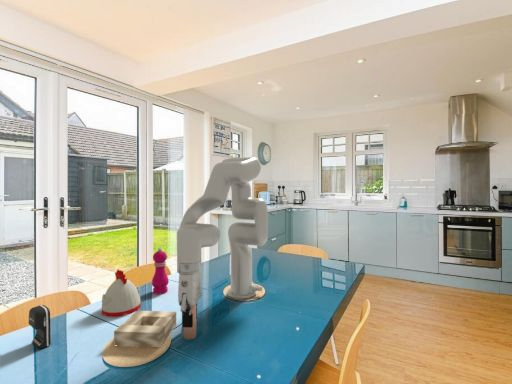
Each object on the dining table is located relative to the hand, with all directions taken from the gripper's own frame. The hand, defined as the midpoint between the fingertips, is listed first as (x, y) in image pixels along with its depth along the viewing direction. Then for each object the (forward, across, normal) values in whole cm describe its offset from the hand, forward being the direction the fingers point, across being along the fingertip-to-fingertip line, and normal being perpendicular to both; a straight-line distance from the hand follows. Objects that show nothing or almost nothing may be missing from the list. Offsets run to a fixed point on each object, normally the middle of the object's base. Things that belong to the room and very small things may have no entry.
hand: (189, 322), depth 90 cm
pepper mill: (+5, +36, +25) cm, 44 cm away
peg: (+4, 0, 0) cm, 4 cm away
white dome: (+5, +18, +33) cm, 38 cm away
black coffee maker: (+4, -8, +44) cm, 45 cm away
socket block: (+4, 0, +14) cm, 15 cm away
